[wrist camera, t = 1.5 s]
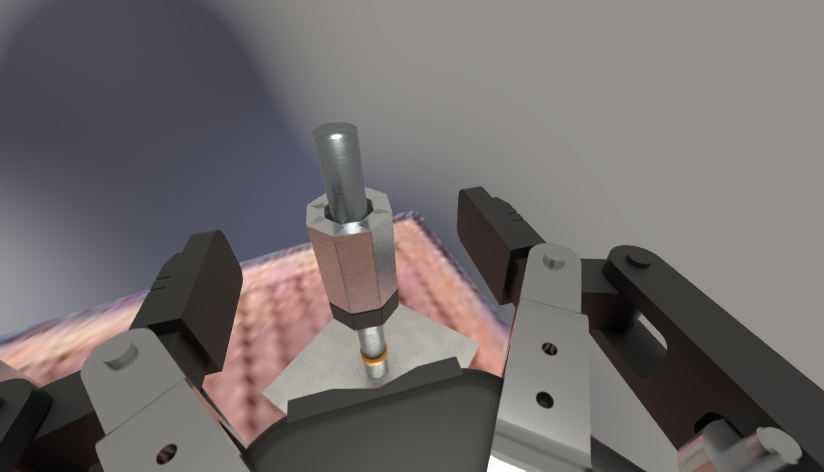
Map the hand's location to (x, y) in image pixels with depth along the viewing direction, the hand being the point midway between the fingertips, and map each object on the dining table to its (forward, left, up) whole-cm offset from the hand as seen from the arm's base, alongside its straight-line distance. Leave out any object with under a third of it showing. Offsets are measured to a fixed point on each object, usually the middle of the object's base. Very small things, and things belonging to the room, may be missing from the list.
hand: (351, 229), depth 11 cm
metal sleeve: (-7, +7, -14) cm, 17 cm away
